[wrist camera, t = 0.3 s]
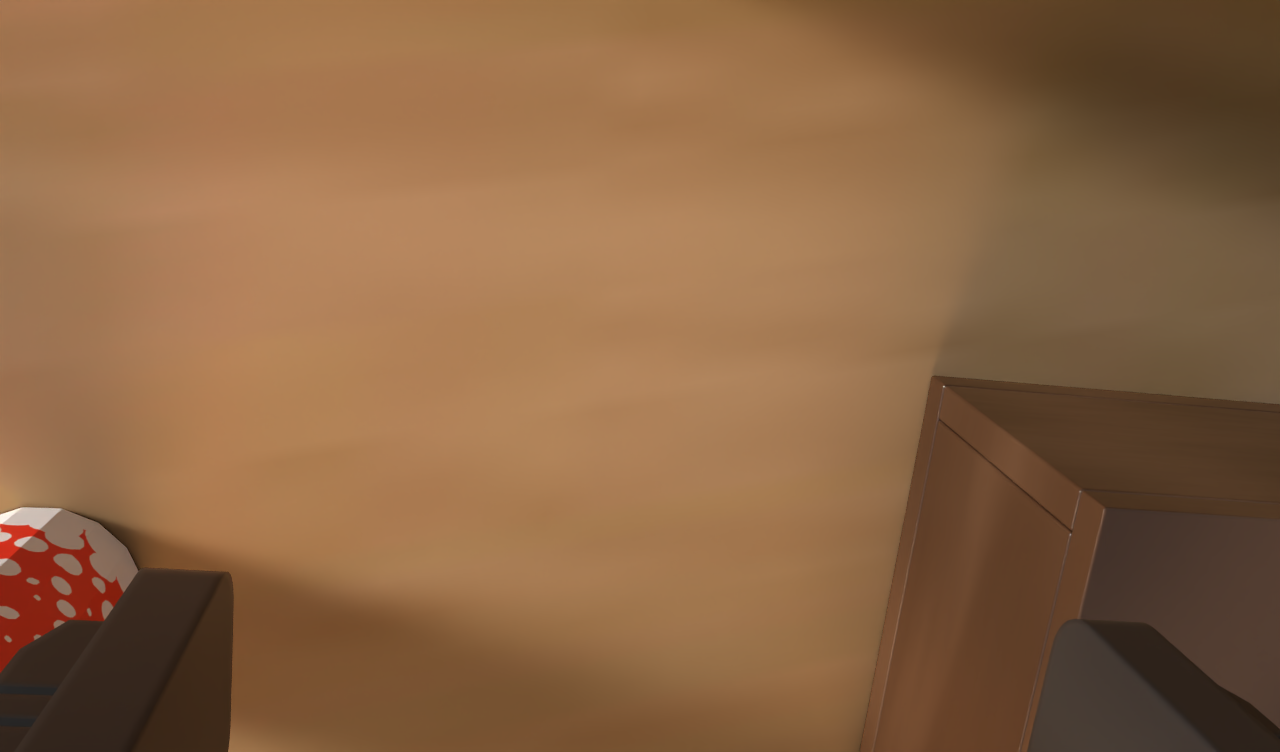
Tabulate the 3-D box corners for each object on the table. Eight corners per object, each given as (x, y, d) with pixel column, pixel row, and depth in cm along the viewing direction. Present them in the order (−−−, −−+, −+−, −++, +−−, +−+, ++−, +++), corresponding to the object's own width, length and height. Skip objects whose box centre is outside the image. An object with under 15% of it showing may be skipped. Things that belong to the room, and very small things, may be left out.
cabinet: (1438, 417, 31) (1782, 553, 23) (1312, 812, 35) (1571, 1057, 26) (931, 374, 29) (1104, 507, 21) (849, 801, 33) (970, 1063, 24)
